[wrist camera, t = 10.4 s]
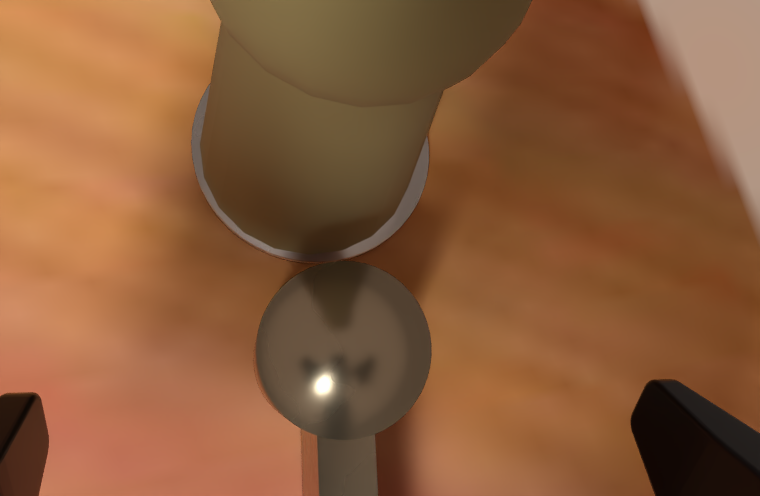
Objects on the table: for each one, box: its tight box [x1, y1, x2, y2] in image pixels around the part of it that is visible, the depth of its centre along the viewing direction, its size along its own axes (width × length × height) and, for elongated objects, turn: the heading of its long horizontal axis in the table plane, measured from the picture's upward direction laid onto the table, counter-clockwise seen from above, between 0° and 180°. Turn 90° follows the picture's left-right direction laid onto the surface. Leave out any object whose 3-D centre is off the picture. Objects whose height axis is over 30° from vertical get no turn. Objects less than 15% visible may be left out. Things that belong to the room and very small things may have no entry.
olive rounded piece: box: [200, 0, 532, 255], centre depth 13 cm, size 6×6×11 cm
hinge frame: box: [191, 84, 431, 496], centre depth 16 cm, size 34×7×4 cm, turn 3°
